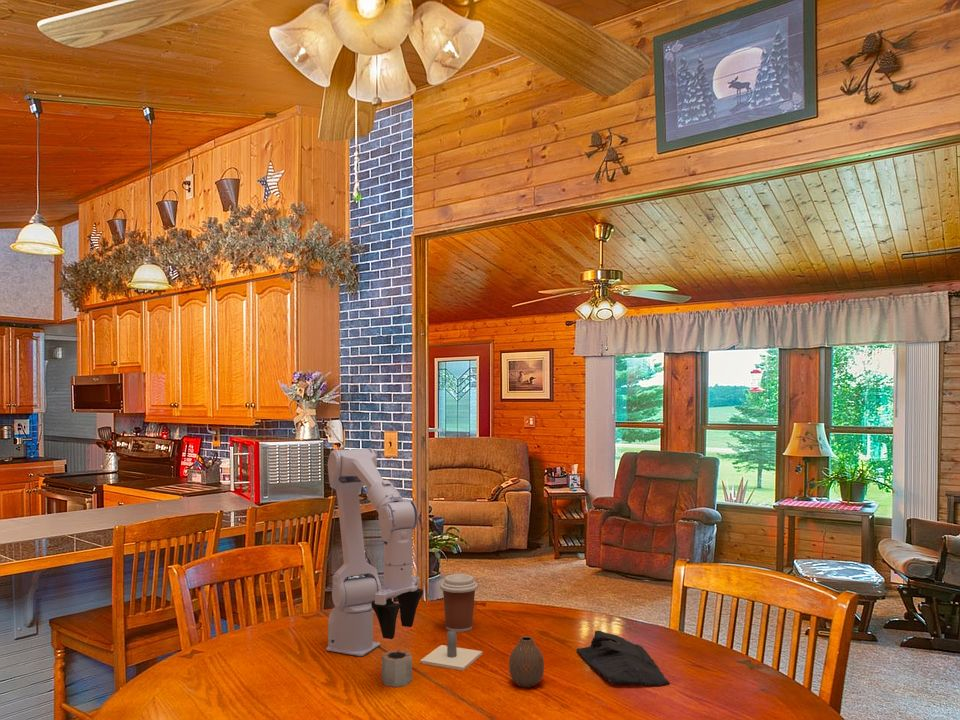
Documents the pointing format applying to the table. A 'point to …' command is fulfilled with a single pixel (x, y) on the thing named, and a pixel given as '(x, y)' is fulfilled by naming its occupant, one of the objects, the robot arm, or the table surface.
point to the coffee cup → (459, 601)
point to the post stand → (451, 655)
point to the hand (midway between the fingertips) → (397, 632)
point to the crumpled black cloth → (621, 661)
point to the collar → (396, 668)
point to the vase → (526, 663)
